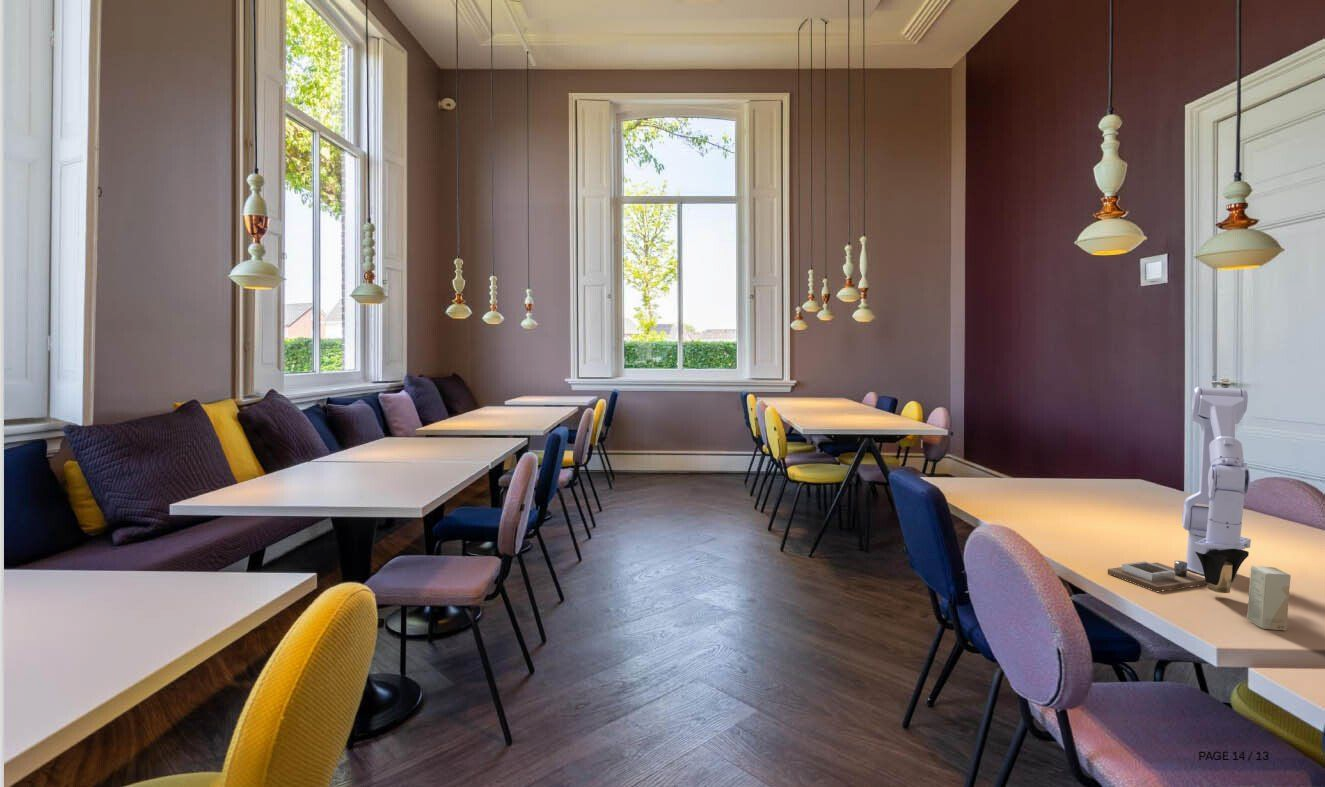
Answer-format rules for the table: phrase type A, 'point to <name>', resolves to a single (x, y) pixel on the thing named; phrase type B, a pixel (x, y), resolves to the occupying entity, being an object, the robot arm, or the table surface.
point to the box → (1268, 597)
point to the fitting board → (1158, 575)
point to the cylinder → (1223, 580)
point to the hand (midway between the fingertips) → (1219, 582)
